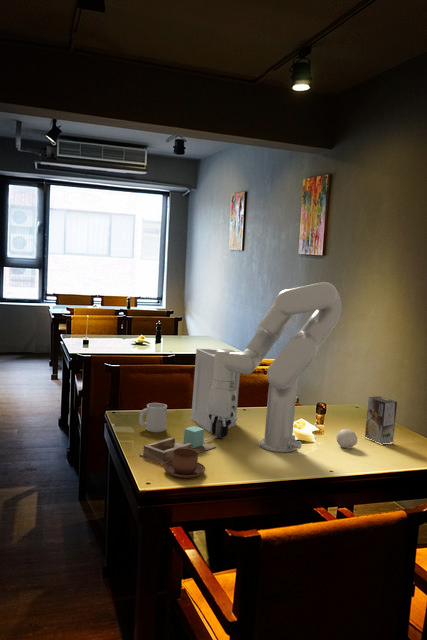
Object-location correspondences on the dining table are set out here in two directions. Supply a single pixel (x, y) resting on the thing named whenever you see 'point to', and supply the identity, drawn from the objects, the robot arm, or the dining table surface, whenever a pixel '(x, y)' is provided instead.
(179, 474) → the cup and saucer
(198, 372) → the tall white carton
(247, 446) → the dining table surface
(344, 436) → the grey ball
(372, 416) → the coffee box
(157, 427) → the cup
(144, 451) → the lane
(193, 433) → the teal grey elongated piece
